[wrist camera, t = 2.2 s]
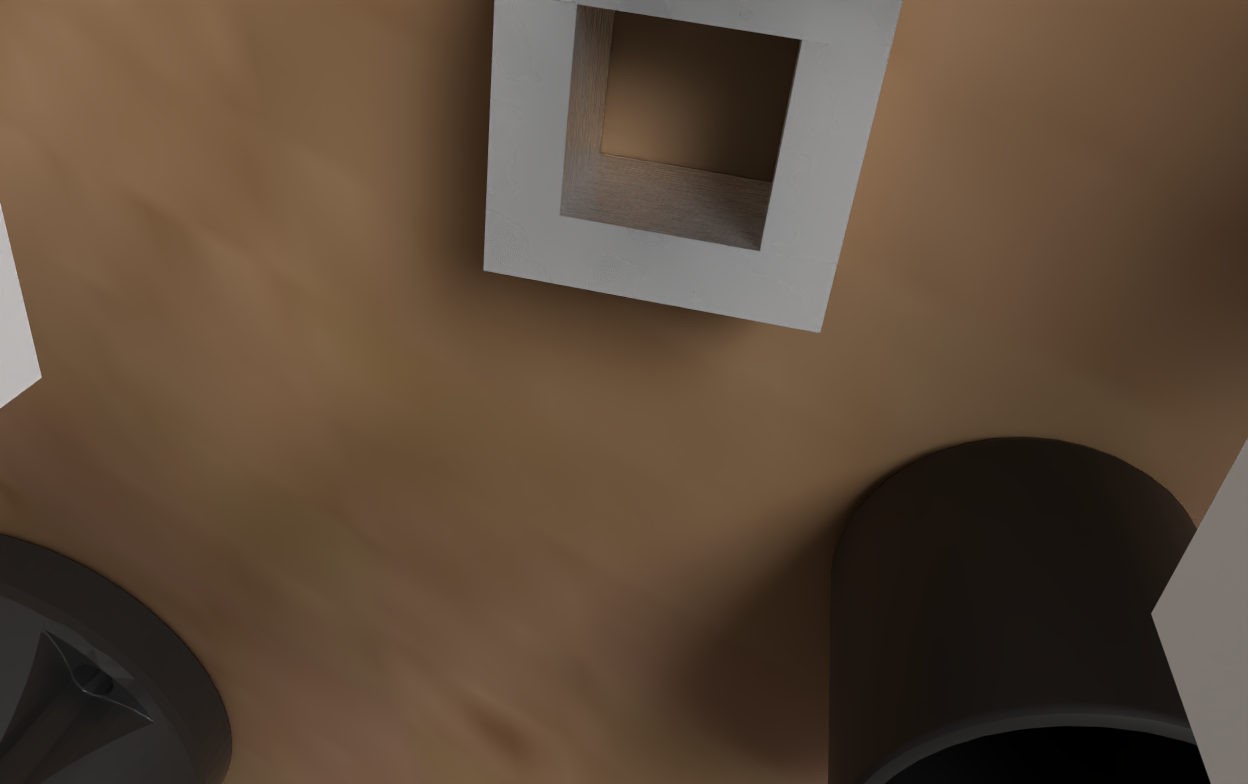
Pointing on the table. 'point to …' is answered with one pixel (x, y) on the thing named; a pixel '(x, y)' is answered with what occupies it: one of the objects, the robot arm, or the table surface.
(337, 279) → the table surface
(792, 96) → the square frame
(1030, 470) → the mug
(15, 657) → the robot arm
